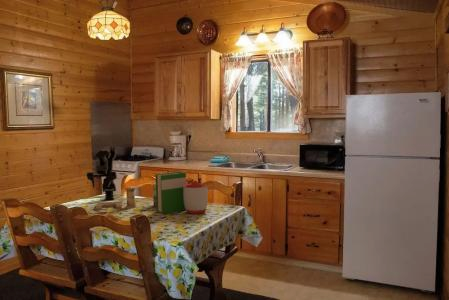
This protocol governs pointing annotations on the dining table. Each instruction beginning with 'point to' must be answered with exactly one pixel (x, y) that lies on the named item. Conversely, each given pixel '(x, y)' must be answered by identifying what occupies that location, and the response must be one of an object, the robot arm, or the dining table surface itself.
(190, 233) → the dining table surface
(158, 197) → the hardback book
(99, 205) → the notched board
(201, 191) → the white plant pot
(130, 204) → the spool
